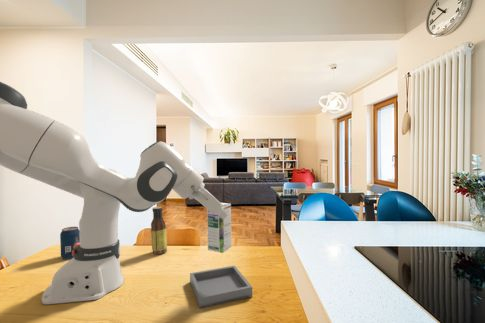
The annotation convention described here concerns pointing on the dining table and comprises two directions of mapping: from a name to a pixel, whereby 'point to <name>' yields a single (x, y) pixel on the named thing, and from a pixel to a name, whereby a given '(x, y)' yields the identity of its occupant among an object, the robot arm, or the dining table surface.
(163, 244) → the sauce bottle
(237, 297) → the tray
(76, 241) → the soda can
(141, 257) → the dining table surface
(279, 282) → the dining table surface
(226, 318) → the dining table surface
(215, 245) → the syrup box
